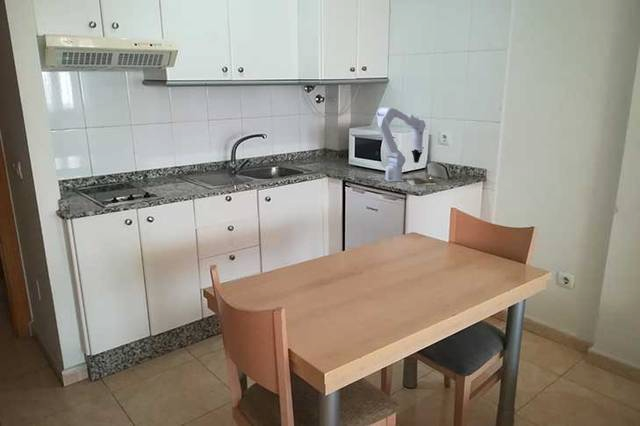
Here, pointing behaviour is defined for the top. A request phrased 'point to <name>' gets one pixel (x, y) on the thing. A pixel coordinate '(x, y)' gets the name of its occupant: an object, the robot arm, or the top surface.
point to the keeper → (417, 180)
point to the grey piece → (439, 170)
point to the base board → (420, 184)
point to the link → (426, 181)
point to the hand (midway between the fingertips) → (416, 162)
